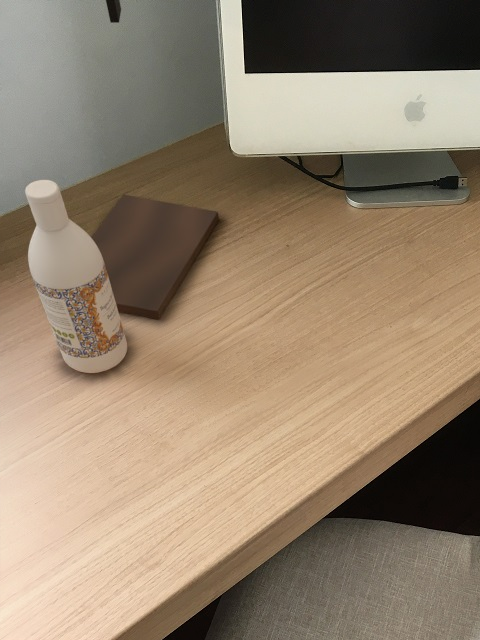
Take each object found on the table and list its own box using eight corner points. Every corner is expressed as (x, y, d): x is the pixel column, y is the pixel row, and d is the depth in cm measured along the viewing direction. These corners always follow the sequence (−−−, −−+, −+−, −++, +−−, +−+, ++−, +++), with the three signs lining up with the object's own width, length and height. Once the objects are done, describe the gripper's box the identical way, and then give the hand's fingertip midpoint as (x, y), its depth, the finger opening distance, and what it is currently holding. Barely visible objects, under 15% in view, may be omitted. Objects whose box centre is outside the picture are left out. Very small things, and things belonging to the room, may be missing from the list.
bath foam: (114, 380, 84) (61, 216, 68) (52, 369, 85) (-14, 204, 68) (137, 337, 88) (94, 173, 72) (79, 327, 89) (22, 161, 73)
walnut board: (54, 298, 91) (51, 290, 90) (125, 202, 103) (123, 194, 102) (159, 319, 90) (157, 311, 89) (219, 219, 102) (218, 211, 101)
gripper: (-270, -317, 50) (-117, 35, 68) (127, -300, 53) (177, 34, 70) (-231, -339, 55) (-97, -3, 72) (134, -323, 57) (180, -2, 75)
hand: (39, 16), depth 71 cm, fingers open, 13 cm apart
